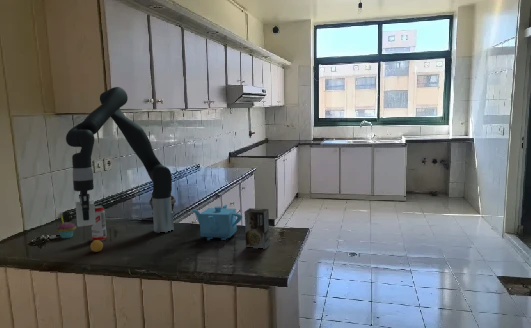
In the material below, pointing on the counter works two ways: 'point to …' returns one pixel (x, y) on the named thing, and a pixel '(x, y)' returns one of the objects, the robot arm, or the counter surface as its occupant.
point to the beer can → (99, 224)
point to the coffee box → (257, 228)
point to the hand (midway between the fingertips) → (85, 218)
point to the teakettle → (218, 222)
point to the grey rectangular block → (80, 215)
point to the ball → (96, 246)
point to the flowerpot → (171, 203)
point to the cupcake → (66, 229)
